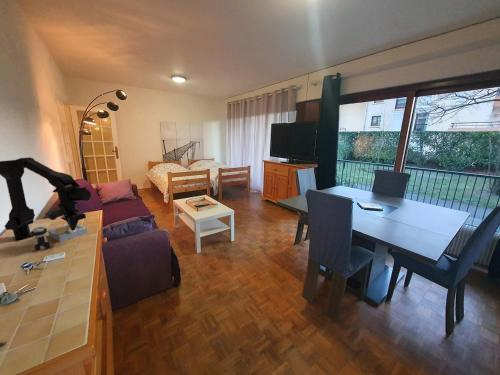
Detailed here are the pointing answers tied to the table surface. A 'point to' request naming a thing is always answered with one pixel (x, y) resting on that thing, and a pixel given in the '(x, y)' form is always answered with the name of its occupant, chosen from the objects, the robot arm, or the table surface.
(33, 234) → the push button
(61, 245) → the table surface
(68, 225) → the slider
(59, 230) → the slider
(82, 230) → the switch unit
